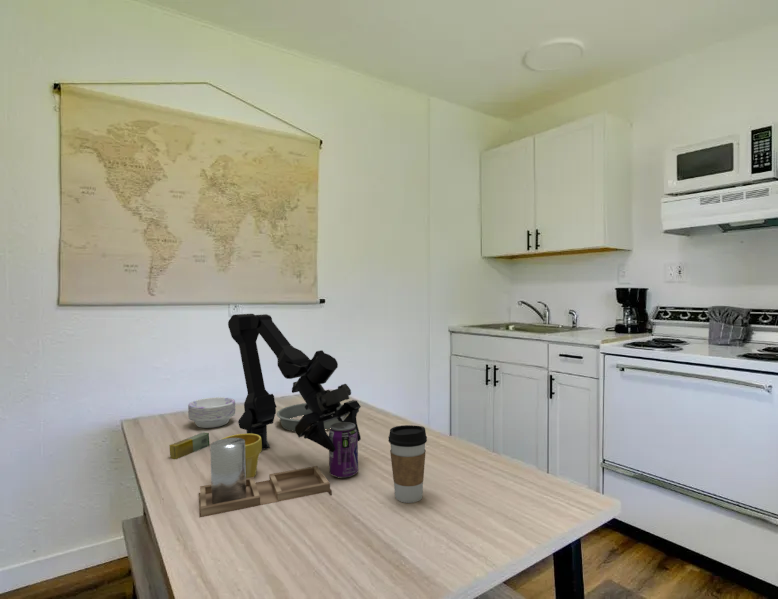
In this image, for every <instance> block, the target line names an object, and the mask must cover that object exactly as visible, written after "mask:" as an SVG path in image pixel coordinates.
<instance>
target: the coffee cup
mask: <svg viewBox="0 0 778 599" xmlns="http://www.w3.org/2000/svg"><path fill="white" fill-rule="evenodd" d="M427 438H428V437H427V432H426V428H425V427H424V426H422V425H397V426H393V427H392V428H390V429H389V434H388V443H389V444H390V451H389V453H390V461H391V462H390V463H391V471H392V479H393V485H394V488H393V489H394V496H395V499H396V500H397V501H399V502H400V503H401V502H402V503H405V504H406V503H407V504H408V503H409V504H410V503H411V504H413V503H417V502H419V501H421V499H422V498H423V492H424V491H423V490H424V476H425V463H426V453H427V452H426V449H425V448H426V443H427V442H428V439H427Z"/></svg>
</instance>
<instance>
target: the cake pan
mask: <svg viewBox="0 0 778 599" xmlns="http://www.w3.org/2000/svg"><path fill="white" fill-rule="evenodd" d="M342 405H343V404H342V403H341V405H340V406H339V407H337V410H339V409H340V408H341V406H342ZM305 406H306V402H303V403H298V404H292V405H291V404H290V405H289V406H285V407H282V408H281V409H279V410H278V411H276V416H277V417H278V418H279V421H280V423H281V427H282V428H284V430H287V429H288V431H290V430H293V431H292V432H295V426H296V425H297V423H298V422H299V421H300V419H295V418H297V416H299V417H303V416H302V415H306V414H309V413H312V412H311V410H310V409H309V410H306V409H305ZM293 417H294V418H293ZM290 418H291V419H290ZM339 422H340V421H339V420H338V419H337V418H336V419H333V420H330V421H327V422H324V429H329V430H330V426H331V425H332V424H335V423H339Z"/></svg>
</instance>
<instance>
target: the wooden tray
mask: <svg viewBox="0 0 778 599" xmlns="http://www.w3.org/2000/svg"><path fill="white" fill-rule="evenodd" d="M268 476H269V479H268V480H261V481H257V482H256V480H255V476H254V477H251V478H246V498H243V499H238V500H233V501H227V502H222V503H217V504H213V503H212V487H211V484H206V485H201V486H199V488H200V489H199V492H198V506H199V508H198V512H199V516H198V517H199V518H205V517H209V516H214V515H219V514H223V513H229V512H235V511H239V510H243V509H249V508H254V507H259V506H263V505H269V504H274V503H279V502H283V501H284V502H285V501H289V500H293V499H297V498H298V499H299V498H303V497H309V496H313V495H318V494H323V493H324V494H325V493H327V494H328V495H329V496H332V495H333V491H332V488H331V483H330V482H329V480H328V479H327V477H326V476H325V475H324V474H323V472H322V471H321V469H320V467H318V465H313V466H309V467H303V468H297V469H291V470H285V471H280V472H273V473H269V475H268Z"/></svg>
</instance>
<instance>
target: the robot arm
mask: <svg viewBox="0 0 778 599" xmlns="http://www.w3.org/2000/svg"><path fill="white" fill-rule="evenodd" d="M227 325H228V329H229V333H230V336H231V338H232V339H233V341H234V342H235V343H236V344H237V345H238V347H239V353H240V358H241V364H242V369H243V374H244V381H245V386H246V390H247V394H246V397H245V399H244V403H243V406H244V409H243V410H244V412H243V413H242V415H241V416H240V418H239V419H238V421H237V422H238V427H239V429H241V430H244V431H246V434H257V435H259V436H261V440H262V450H265V449H270V447H271V445H270V443H269V442H268V433H267V432H268V431H267V430H268V427H267V426H268V425H273V424H274V422H275V416H276V415H277V411H276V410H277V405H276V401H275V395H274V394H273V393H269V391H267V389H266V386H265V383H264V382H265V381H264V376H263V370H262V365H261V359H260V355H259V350H258V345H257V341H258V340H257V339H258V338H259V336H261V338H262V339H263V341H264V342H265V343H266V344H267V346H268V347H269V349H270V350H271V351H272V353H273V354H274V355H275V357H276V359H277V367H278V369H279V370H280V373H281V375H282V376H283V377H284V378H285V379H286V380H287V379H288V380H292V379H296V378H298V379H297V380H296V381H293V383H292V388H291V393H292V394H294V393H299V394H300V395H301V398H302V399H303V401H304V403H306V406H305V409H306V410H309V409H310V410H311V412H312V413H309V414H306V415H304V416H301V418H300V419H299V420H300V421H299V422H298V423H297V425H296V426H295V431H294V432H295V433H296V435H297V437H298V438H302V437H303V439H305V440H306V439H307V440H310V441H312V442H314V443H316V444H317V445H320V446H321V447H322V448H324V449H326V450H328V452H329V451H331V452H334V451H335V447H334V445H333V443H332V441H331V440H330V438H329V433H327V430H325V429H324V422H327V421H330V420H333V419H336V418H337V419H338V420H339V421H340V422H350V423H354V424H355V428H356V430H357V433H358V442H360V441H361V440H362V439H361V434H360V430H359V426H358V421H357V416H358V415H357V414H358V413H359V411H360V409H361V404H360V403H359V402H358V400H354V399H351V400H350V396H351V395H352V390H351V389H350V386H349V385H348V384H347V383H344V384H340V385H338V386H337V388H335V389H333V390H330V389H326V390H325V388H324V386H323V385H324V384H325V383H327V382H328V381H329V379H330V378H331V377H332V375H333V374H334V373H335V371H336V370H337V369H338V367H339V365H338V361H337V359H336V358H335V357H334V356H332V355H330V354H328V353H325V351H324V350H323V349H321V350H317V351H315V353H314V355H313V357H312V358H311V359H310V357H309V356H308V355H307V354H305V352H304V351H302V350H300V349H299V348H296V347H294V346H293V345H292V344H291V343H290V341H288V339H287V338H286V336H285V335H284V334H283V333H282V331H281V330H280V329H279V328H278V326H277V324H275V323H274V321H273V318H272V316H271V315H269V314H267V313H265V314H264V313H263V314H254V313H240V314H239V313H238V314H233V315H231V316H230V318H229V320H228V322H227ZM347 400H349V401H347ZM344 401H345V402H344ZM341 402H344V403H343V404H342V403H341ZM341 404H342V406H341V408H340V409H339V410H337V407H339V406H340V405H341Z"/></svg>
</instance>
